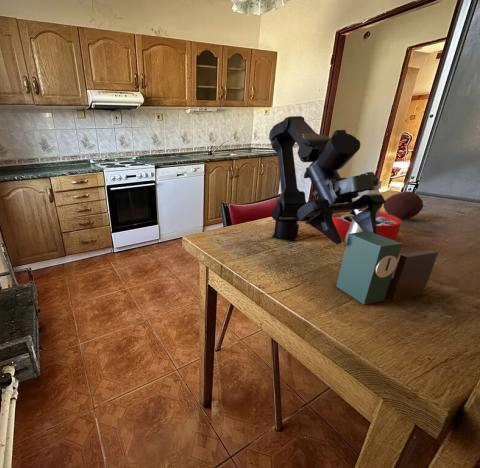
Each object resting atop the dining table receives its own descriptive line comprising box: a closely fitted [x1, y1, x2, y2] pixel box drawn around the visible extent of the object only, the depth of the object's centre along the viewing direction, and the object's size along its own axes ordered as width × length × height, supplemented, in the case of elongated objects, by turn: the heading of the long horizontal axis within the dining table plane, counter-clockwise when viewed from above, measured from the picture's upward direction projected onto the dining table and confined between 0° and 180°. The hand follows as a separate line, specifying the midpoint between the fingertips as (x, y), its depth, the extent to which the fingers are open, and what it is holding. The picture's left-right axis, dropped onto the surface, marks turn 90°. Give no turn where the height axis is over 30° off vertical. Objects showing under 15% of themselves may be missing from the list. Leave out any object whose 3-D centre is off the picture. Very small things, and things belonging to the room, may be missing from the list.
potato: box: [382, 191, 424, 220], centre depth 98 cm, size 11×13×10 cm
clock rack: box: [385, 249, 439, 301], centre depth 57 cm, size 10×8×10 cm
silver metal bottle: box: [344, 180, 383, 244], centre depth 73 cm, size 6×7×20 cm
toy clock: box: [332, 210, 403, 241], centre depth 87 cm, size 20×6×20 cm
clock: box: [335, 231, 403, 305], centre depth 53 cm, size 8×5×13 cm, turn 12°
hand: (357, 241), depth 55 cm, fingers open, 9 cm apart
